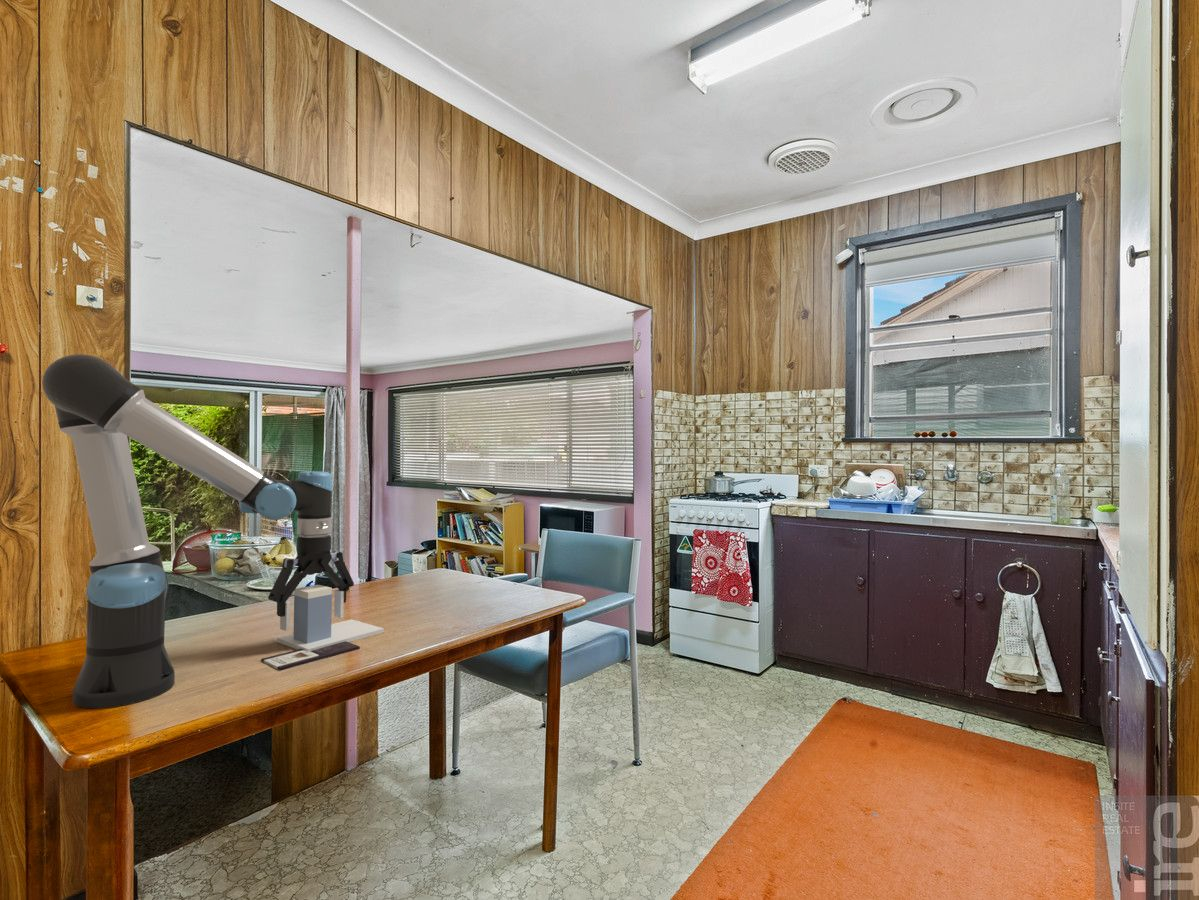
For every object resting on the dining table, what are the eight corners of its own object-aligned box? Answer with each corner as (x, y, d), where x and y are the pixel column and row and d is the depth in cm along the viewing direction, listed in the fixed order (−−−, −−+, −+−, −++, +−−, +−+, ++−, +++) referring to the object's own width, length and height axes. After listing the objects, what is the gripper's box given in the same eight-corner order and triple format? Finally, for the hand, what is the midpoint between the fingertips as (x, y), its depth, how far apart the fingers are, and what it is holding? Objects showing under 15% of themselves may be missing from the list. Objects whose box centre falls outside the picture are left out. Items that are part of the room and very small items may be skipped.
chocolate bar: (359, 646, 139) (280, 668, 125) (359, 650, 139) (280, 672, 125) (339, 639, 145) (261, 658, 130) (339, 642, 145) (261, 663, 130)
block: (307, 643, 139) (308, 592, 139) (293, 638, 143) (294, 588, 143) (331, 637, 144) (331, 587, 144) (317, 632, 148) (318, 584, 148)
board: (308, 653, 135) (308, 649, 135) (276, 641, 143) (276, 637, 143) (383, 632, 152) (384, 628, 152) (351, 622, 160) (351, 619, 160)
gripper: (269, 542, 131) (268, 638, 131) (369, 531, 152) (367, 614, 152) (252, 539, 135) (251, 632, 135) (351, 528, 156) (350, 609, 156)
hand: (312, 623), depth 143 cm, fingers open, 13 cm apart
